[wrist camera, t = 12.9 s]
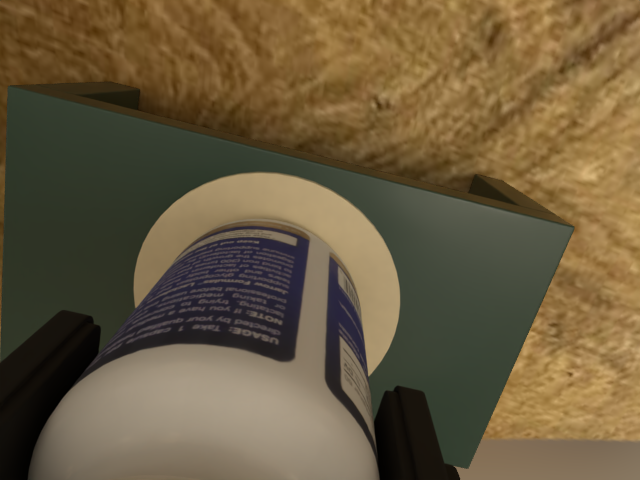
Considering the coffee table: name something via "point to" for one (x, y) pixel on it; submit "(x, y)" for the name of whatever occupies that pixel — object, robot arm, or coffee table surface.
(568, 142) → the coffee table surface
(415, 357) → the shelf
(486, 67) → the coffee table surface
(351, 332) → the pill bottle
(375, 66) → the coffee table surface
